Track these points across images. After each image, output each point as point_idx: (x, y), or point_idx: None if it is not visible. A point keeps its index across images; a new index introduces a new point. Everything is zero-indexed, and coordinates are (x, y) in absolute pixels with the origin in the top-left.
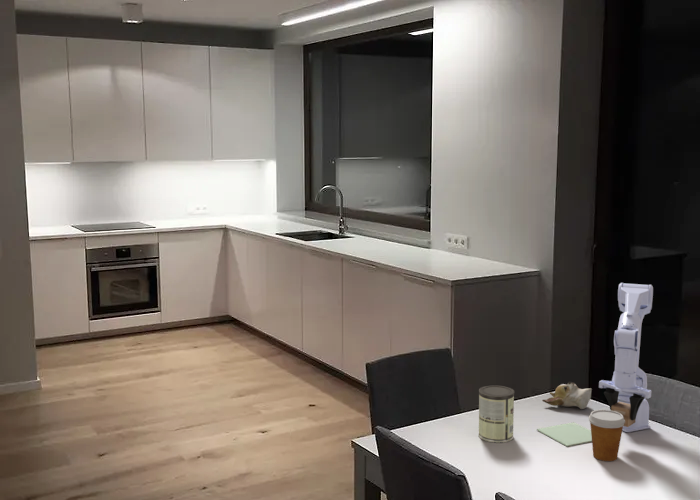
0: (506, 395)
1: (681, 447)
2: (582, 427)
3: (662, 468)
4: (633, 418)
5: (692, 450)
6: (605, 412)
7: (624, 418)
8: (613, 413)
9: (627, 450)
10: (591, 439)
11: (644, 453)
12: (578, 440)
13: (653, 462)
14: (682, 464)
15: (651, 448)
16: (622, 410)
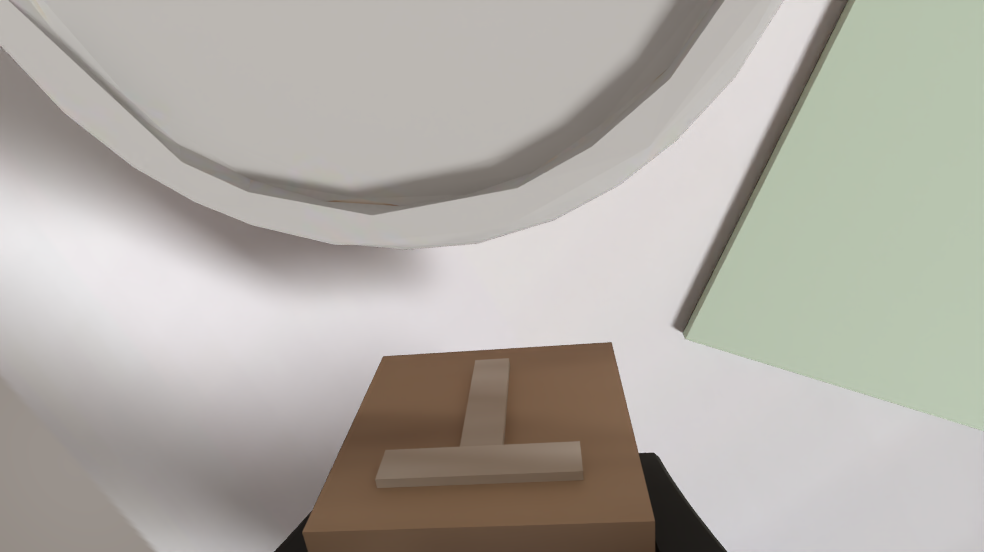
0: None
1: (229, 542)
2: (954, 405)
3: (22, 114)
4: None
5: (160, 542)
6: (551, 72)
7: (411, 414)
8: (371, 156)
9: (424, 248)
10: (770, 216)
11: (304, 289)
12: (869, 95)
13: (145, 175)
14: (18, 300)
15: (333, 407)
16: (429, 500)
